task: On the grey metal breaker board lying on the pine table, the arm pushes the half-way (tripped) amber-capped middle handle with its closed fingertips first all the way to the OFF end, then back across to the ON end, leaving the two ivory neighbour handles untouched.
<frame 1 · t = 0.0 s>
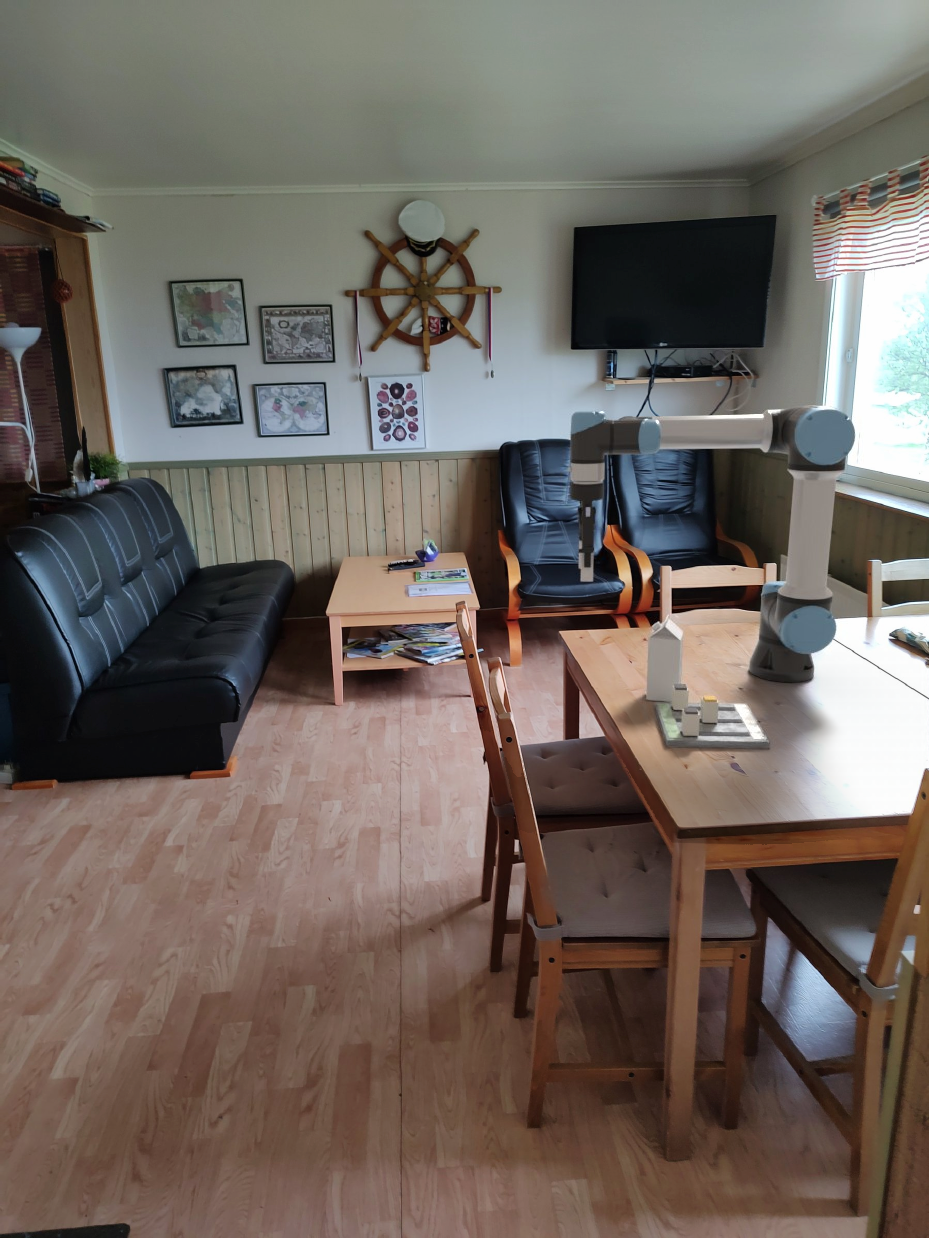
hand: (585, 574, 197), 28 cm above the table, fingers open, 13 cm apart
milk carton: (663, 697, 198), on the table
breaker 2: (690, 721, 173), point 4 cm above the table, slide at 5.0 cm
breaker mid: (709, 708, 179), point 4 cm above the table, slide at 0.0 cm
panel: (708, 727, 180), on the table
breaker 1: (680, 696, 186), point 4 cm above the table, slide at 5.0 cm
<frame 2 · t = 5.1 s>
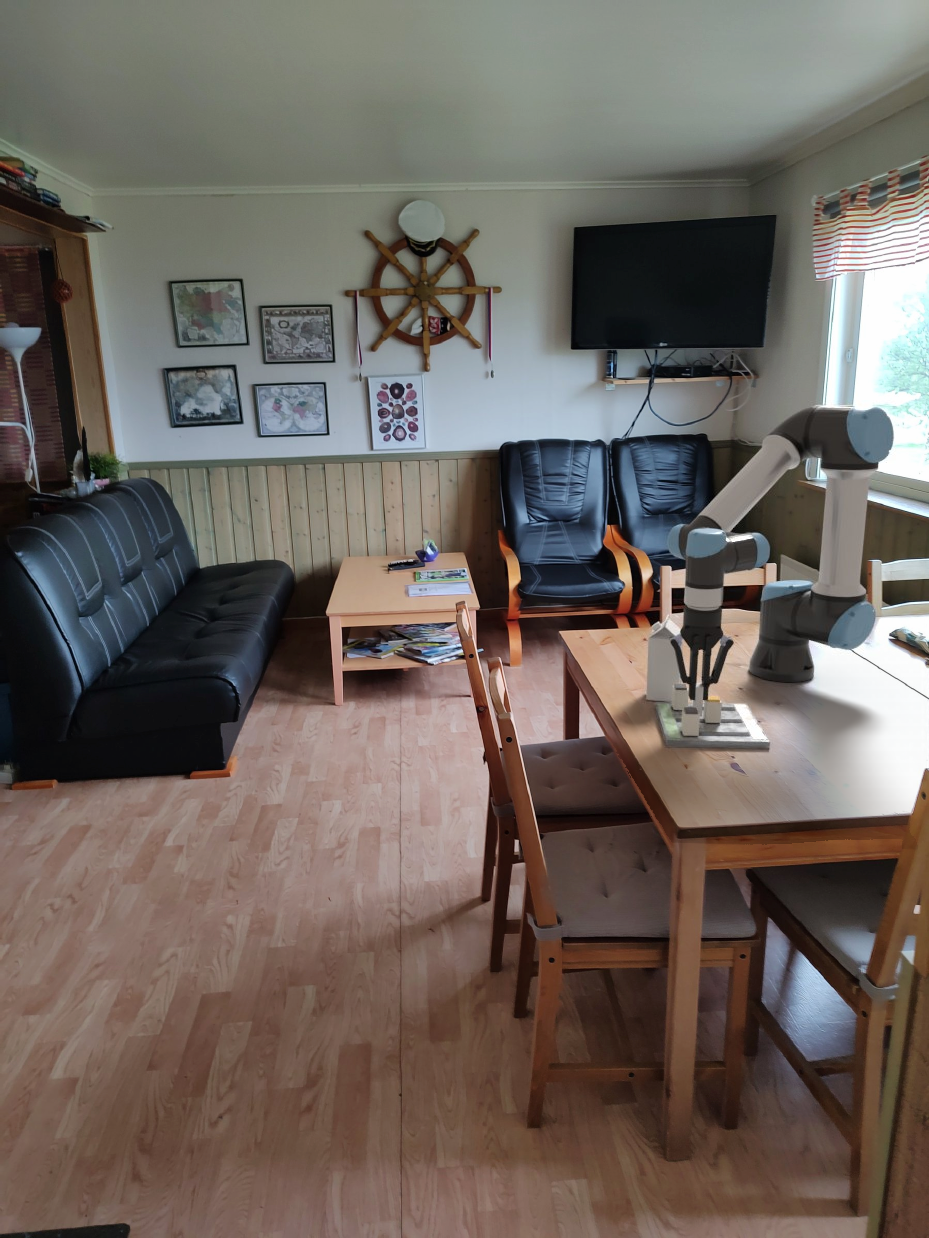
hand: (697, 713, 180), 3 cm above the table, fingers closed
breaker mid: (712, 708, 179), point 4 cm above the table, slide at -0.6 cm, touching gripper
everything else where it was.
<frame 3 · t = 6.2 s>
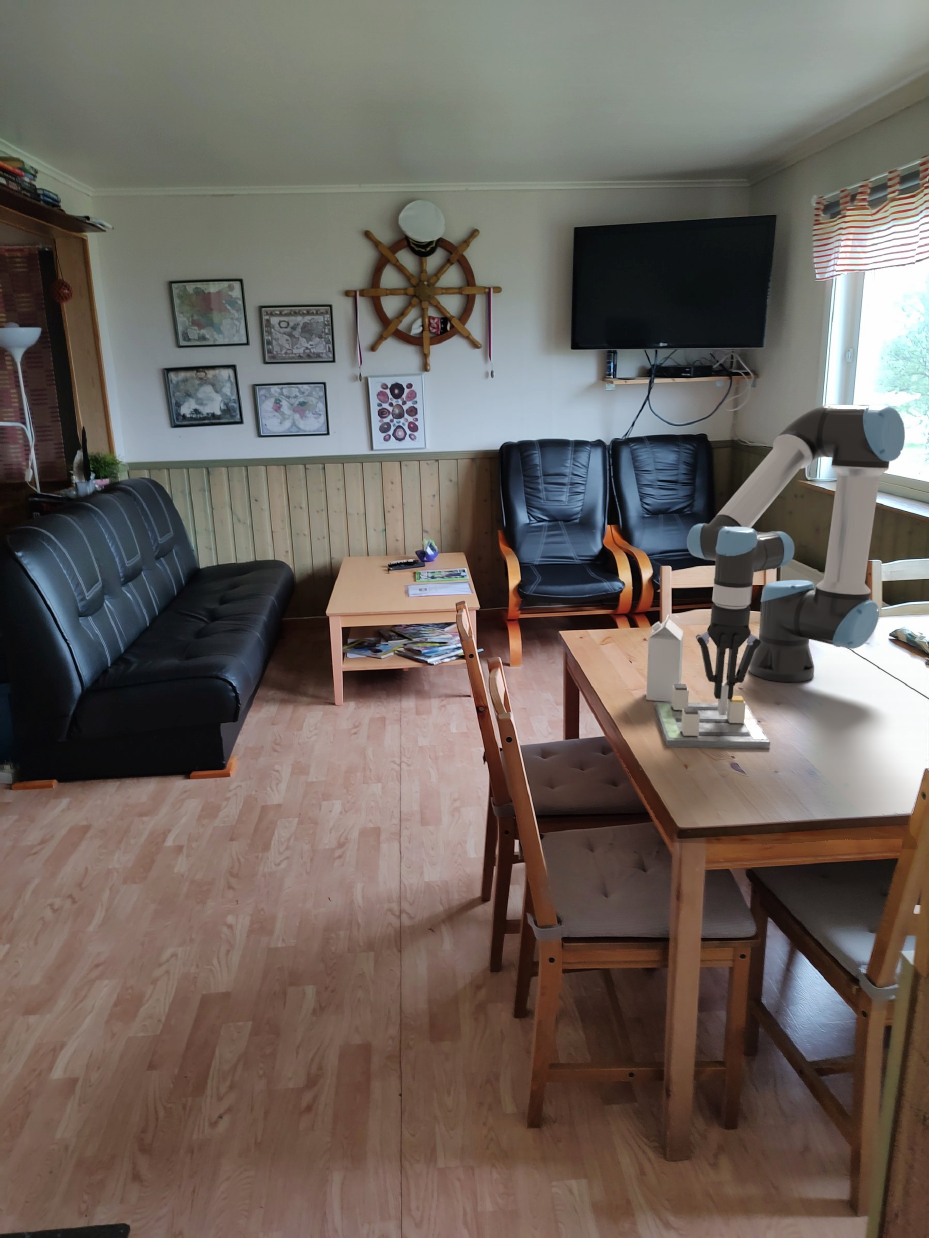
hand: (721, 712, 179), 3 cm above the table, fingers closed
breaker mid: (736, 709, 178), point 4 cm above the table, slide at -5.4 cm, touching gripper
everything else where it was.
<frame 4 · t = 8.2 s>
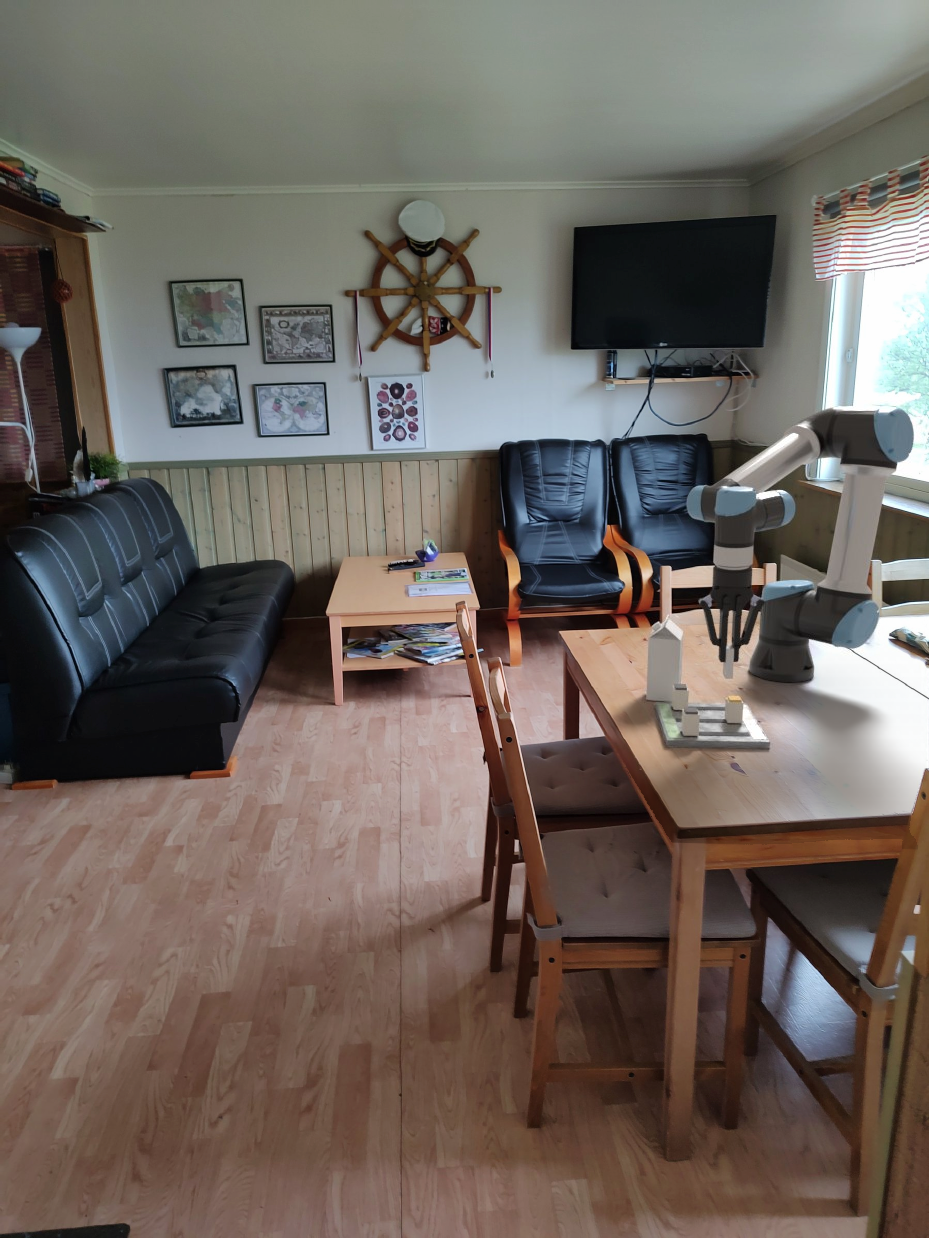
hand: (727, 676, 177), 11 cm above the table, fingers closed
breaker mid: (734, 709, 178), point 4 cm above the table, slide at -5.0 cm
everything else where it was.
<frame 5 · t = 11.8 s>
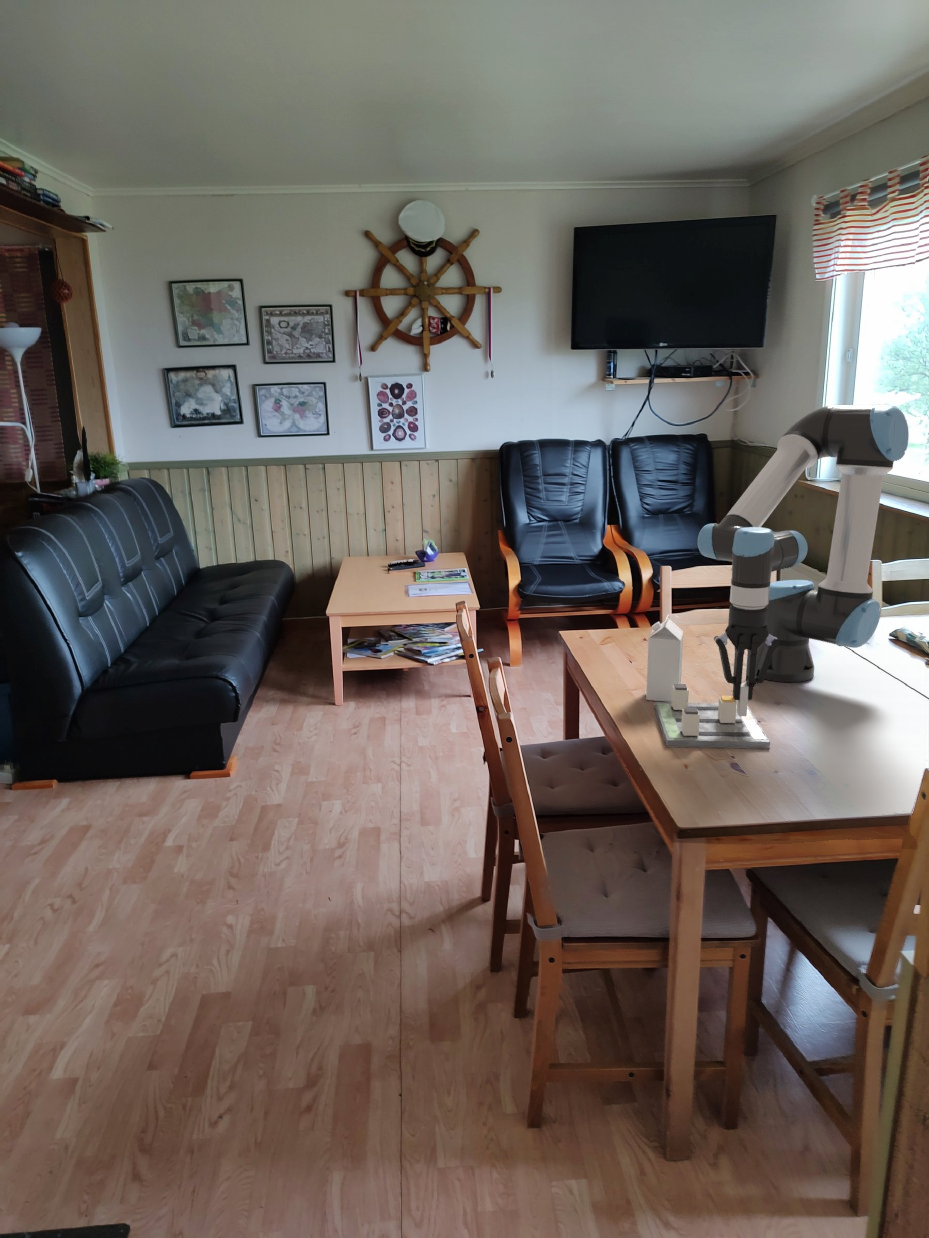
hand: (741, 713, 179), 3 cm above the table, fingers closed
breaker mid: (727, 709, 179), point 4 cm above the table, slide at -3.6 cm, touching gripper
everything else where it was.
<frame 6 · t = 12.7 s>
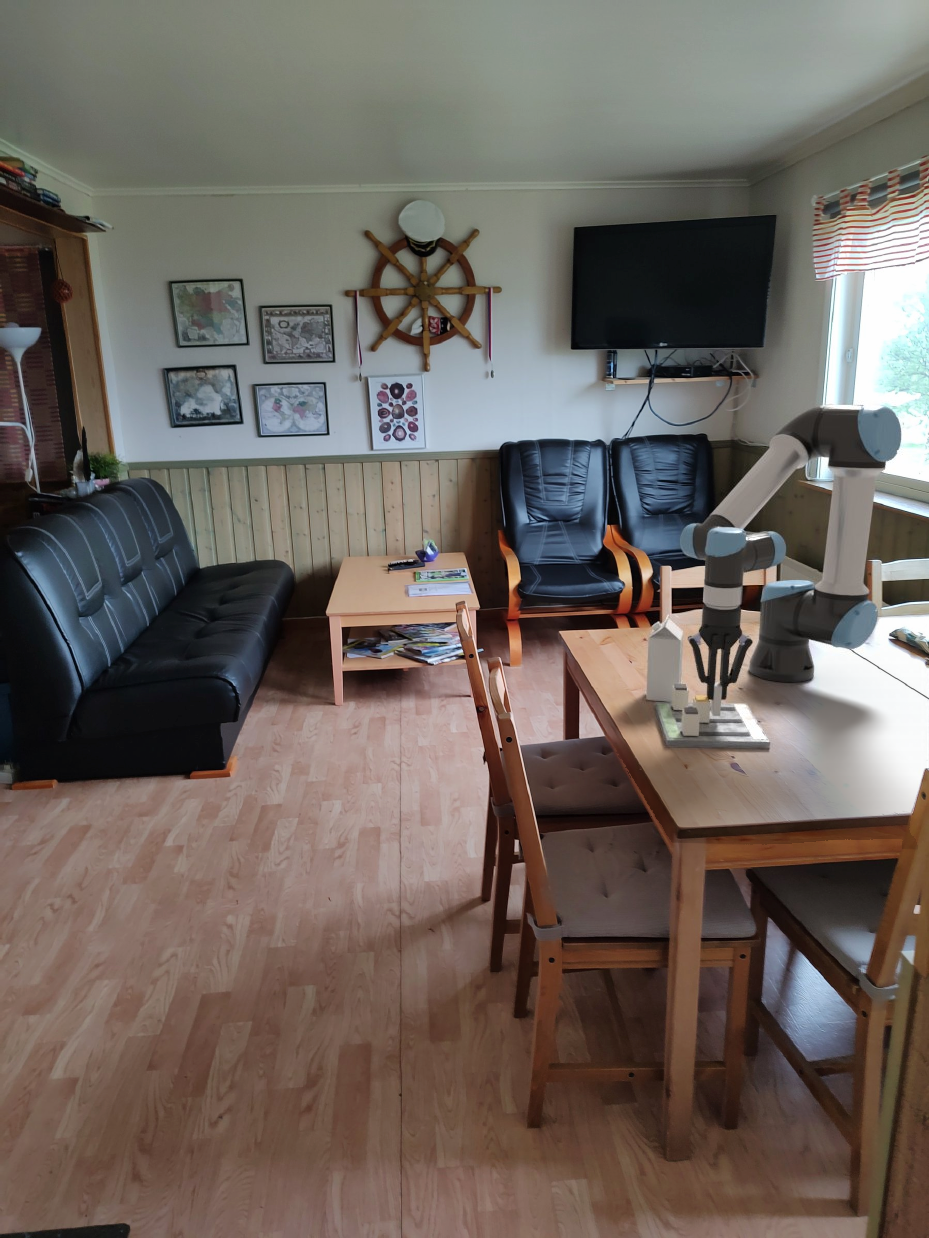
hand: (715, 713, 179), 3 cm above the table, fingers closed
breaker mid: (701, 708, 179), point 4 cm above the table, slide at 1.7 cm, touching gripper
everything else where it was.
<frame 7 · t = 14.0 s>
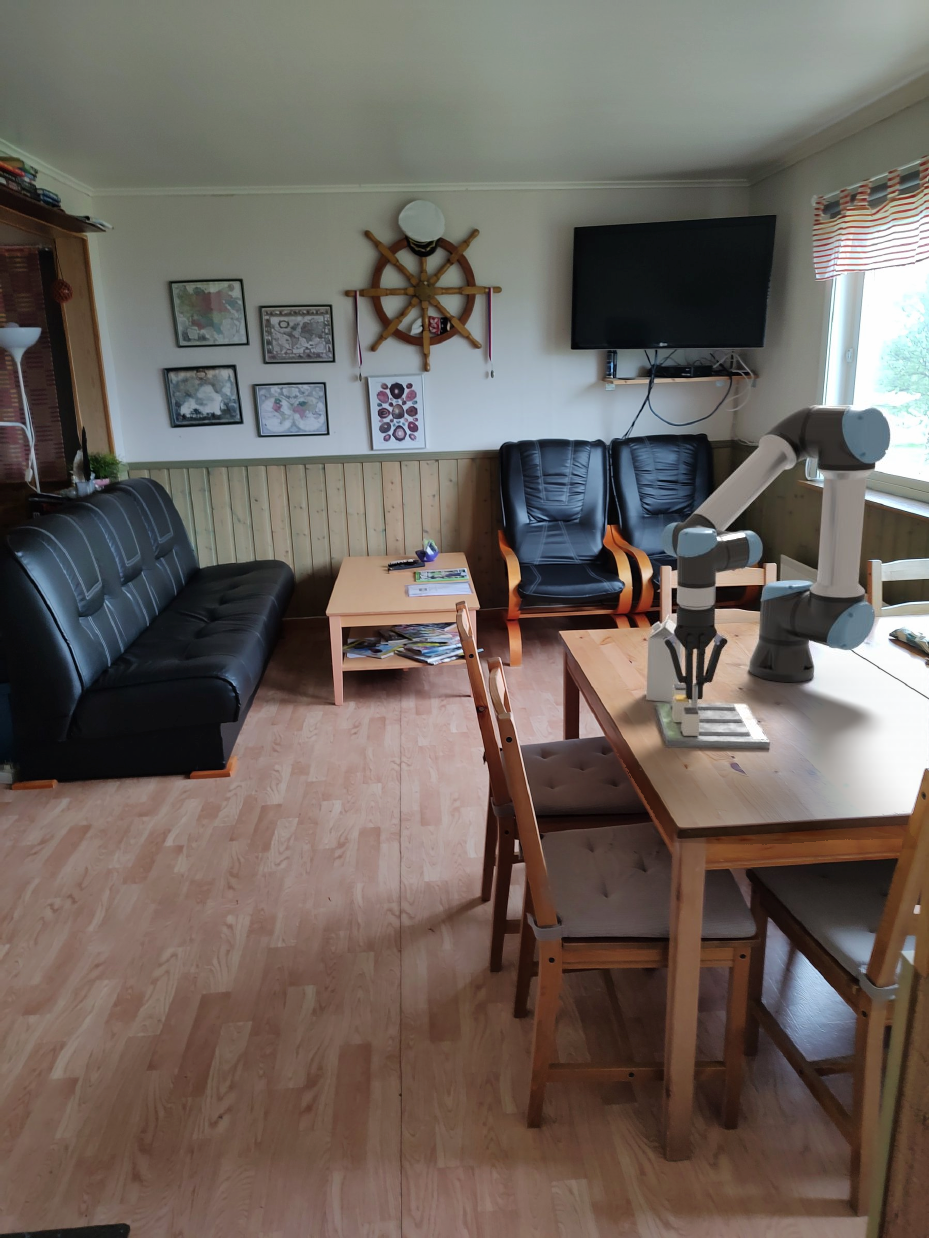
hand: (693, 713, 179), 3 cm above the table, fingers closed
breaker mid: (680, 708, 180), point 4 cm above the table, slide at 5.9 cm, touching gripper
everything else where it was.
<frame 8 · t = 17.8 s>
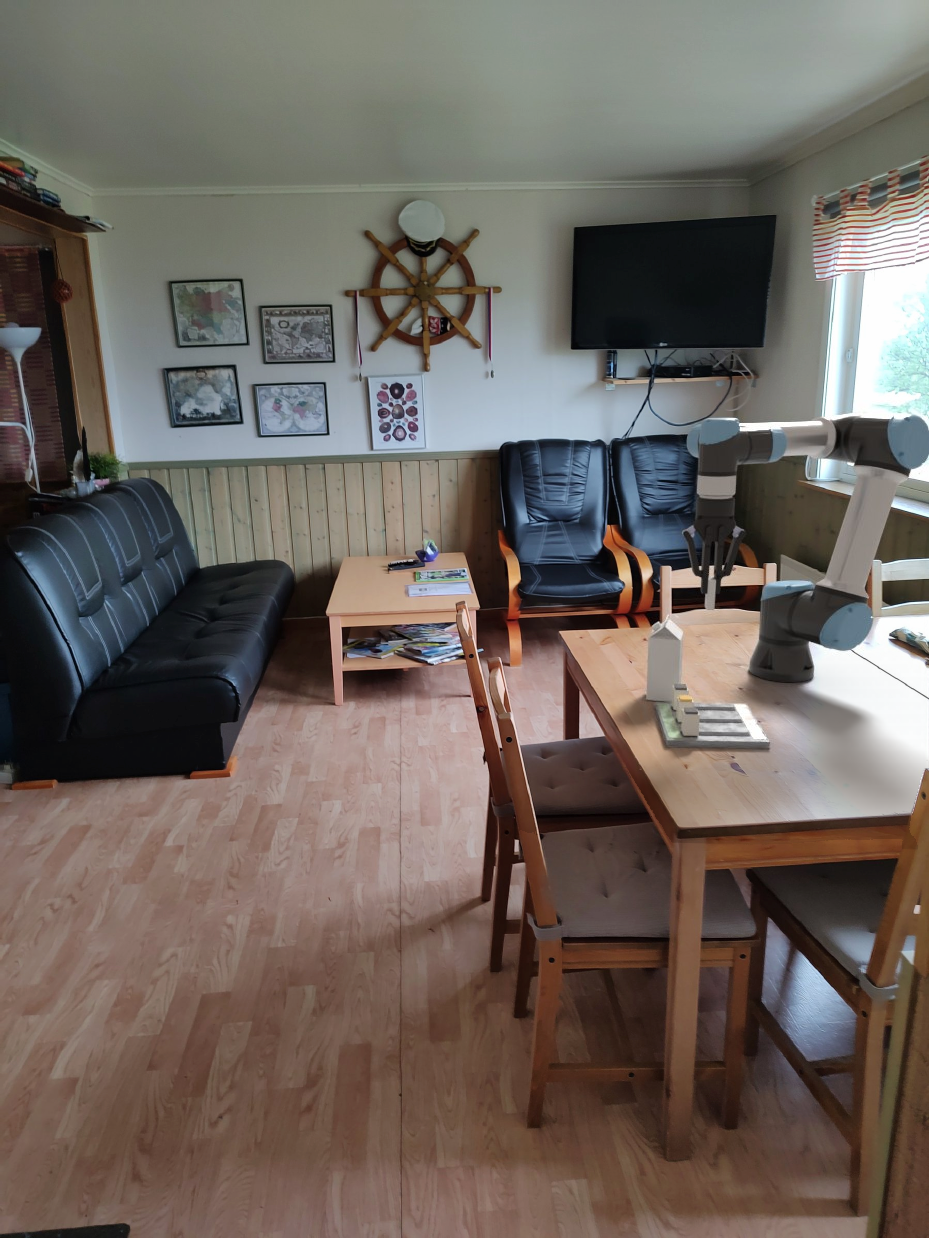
hand: (709, 608, 179), 24 cm above the table, fingers closed
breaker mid: (684, 708, 179), point 4 cm above the table, slide at 5.0 cm
everything else where it was.
at the end: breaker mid slide at 5.0 cm; breaker 1 slide at 5.0 cm; breaker 2 slide at 5.0 cm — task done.
